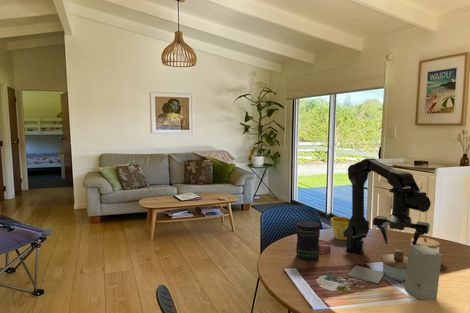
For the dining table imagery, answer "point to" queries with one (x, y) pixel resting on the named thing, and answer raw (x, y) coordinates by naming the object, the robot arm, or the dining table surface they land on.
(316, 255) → the storage jar
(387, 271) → the bowl
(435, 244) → the lidded jar
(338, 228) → the plant pot
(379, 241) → the dining table surface
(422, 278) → the skincare box
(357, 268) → the grey flat square slab
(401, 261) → the lid
